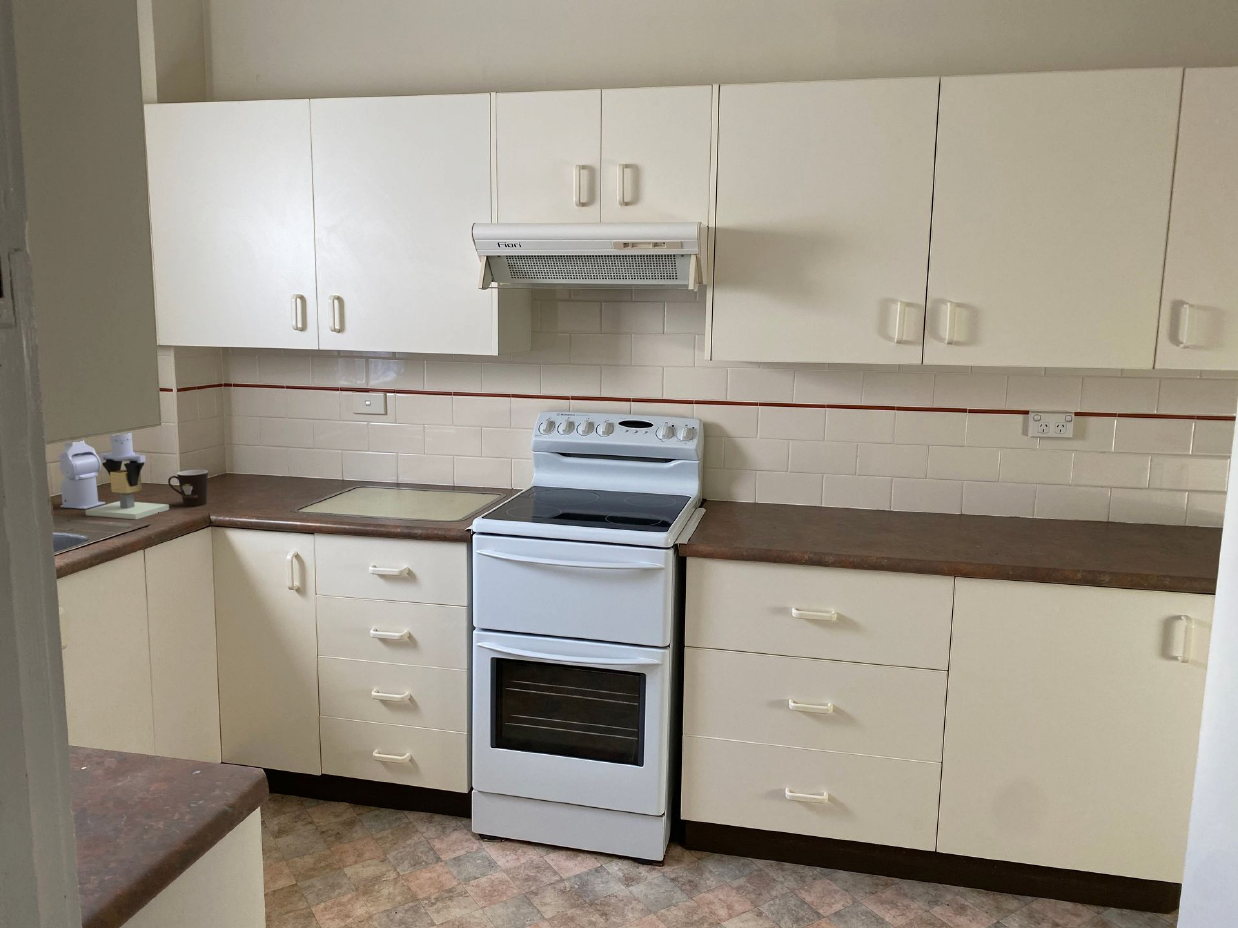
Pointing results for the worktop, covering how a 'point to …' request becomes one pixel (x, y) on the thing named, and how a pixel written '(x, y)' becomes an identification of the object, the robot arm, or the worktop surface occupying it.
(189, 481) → the coffee mug
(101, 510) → the post stand
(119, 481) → the brass collar
